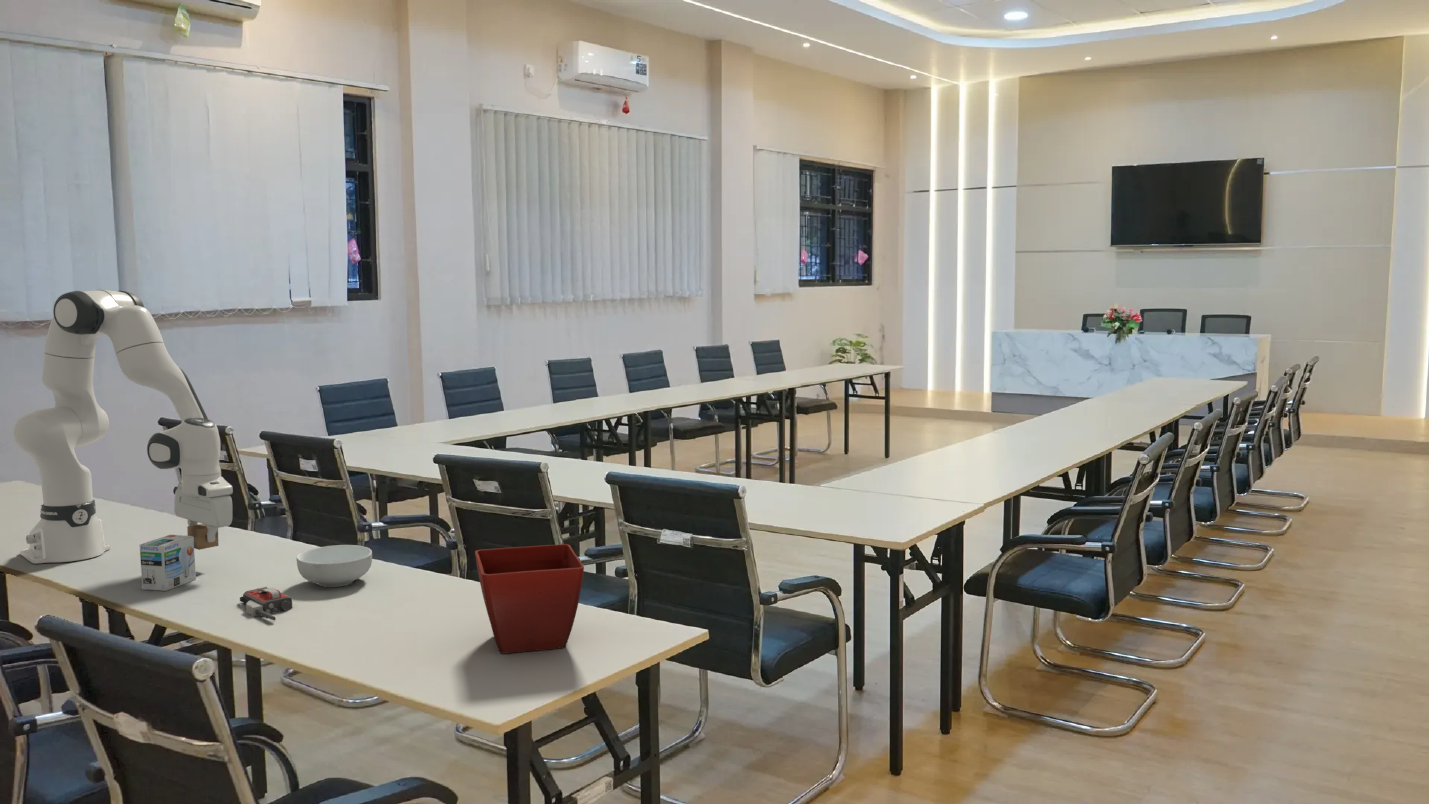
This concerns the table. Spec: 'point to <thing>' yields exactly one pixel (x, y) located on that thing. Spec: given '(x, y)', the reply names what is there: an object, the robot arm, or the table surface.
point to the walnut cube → (201, 536)
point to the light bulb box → (167, 562)
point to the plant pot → (530, 595)
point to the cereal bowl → (334, 564)
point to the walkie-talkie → (265, 602)
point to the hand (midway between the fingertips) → (203, 539)
